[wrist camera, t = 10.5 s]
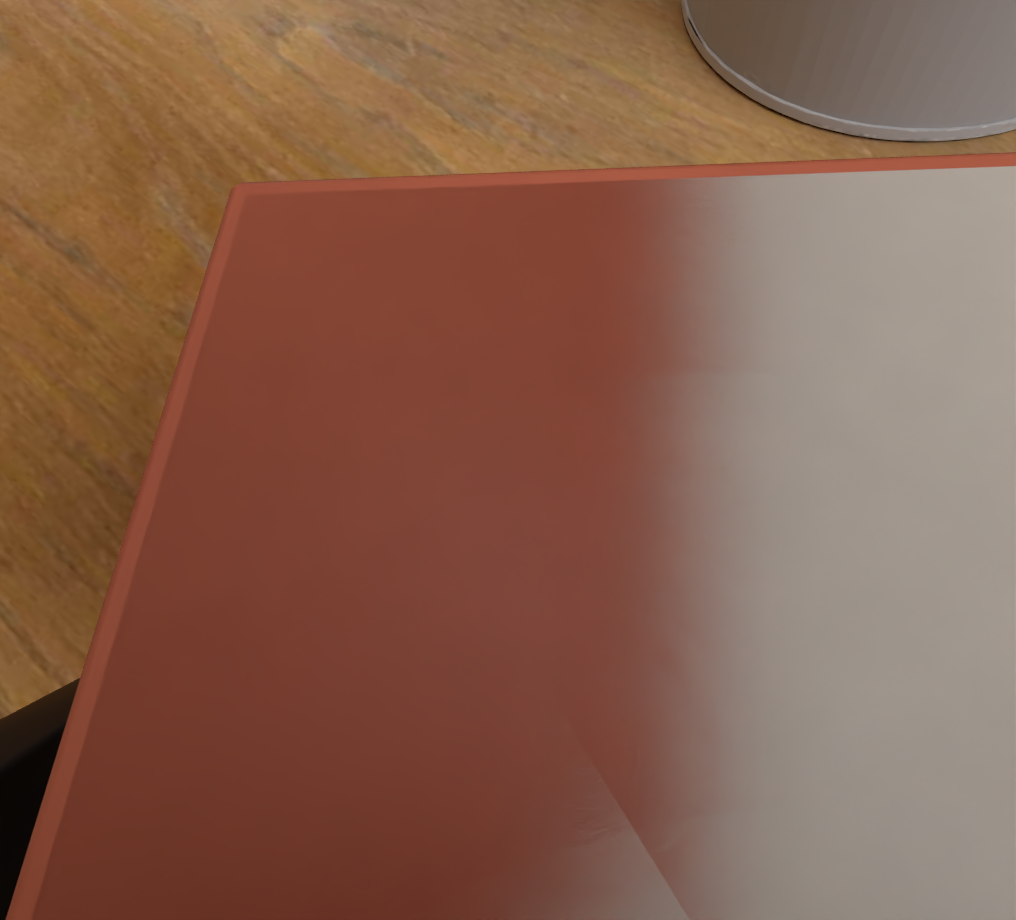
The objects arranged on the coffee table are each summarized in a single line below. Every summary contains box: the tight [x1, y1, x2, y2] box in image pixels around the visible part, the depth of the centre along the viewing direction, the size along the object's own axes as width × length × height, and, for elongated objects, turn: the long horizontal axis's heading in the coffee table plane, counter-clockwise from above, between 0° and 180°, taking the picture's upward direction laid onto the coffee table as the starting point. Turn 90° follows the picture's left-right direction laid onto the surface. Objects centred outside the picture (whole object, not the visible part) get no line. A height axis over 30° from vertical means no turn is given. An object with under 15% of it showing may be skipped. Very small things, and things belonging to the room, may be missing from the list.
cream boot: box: [6, 152, 1016, 920], centre depth 10 cm, size 14×5×13 cm, turn 176°
